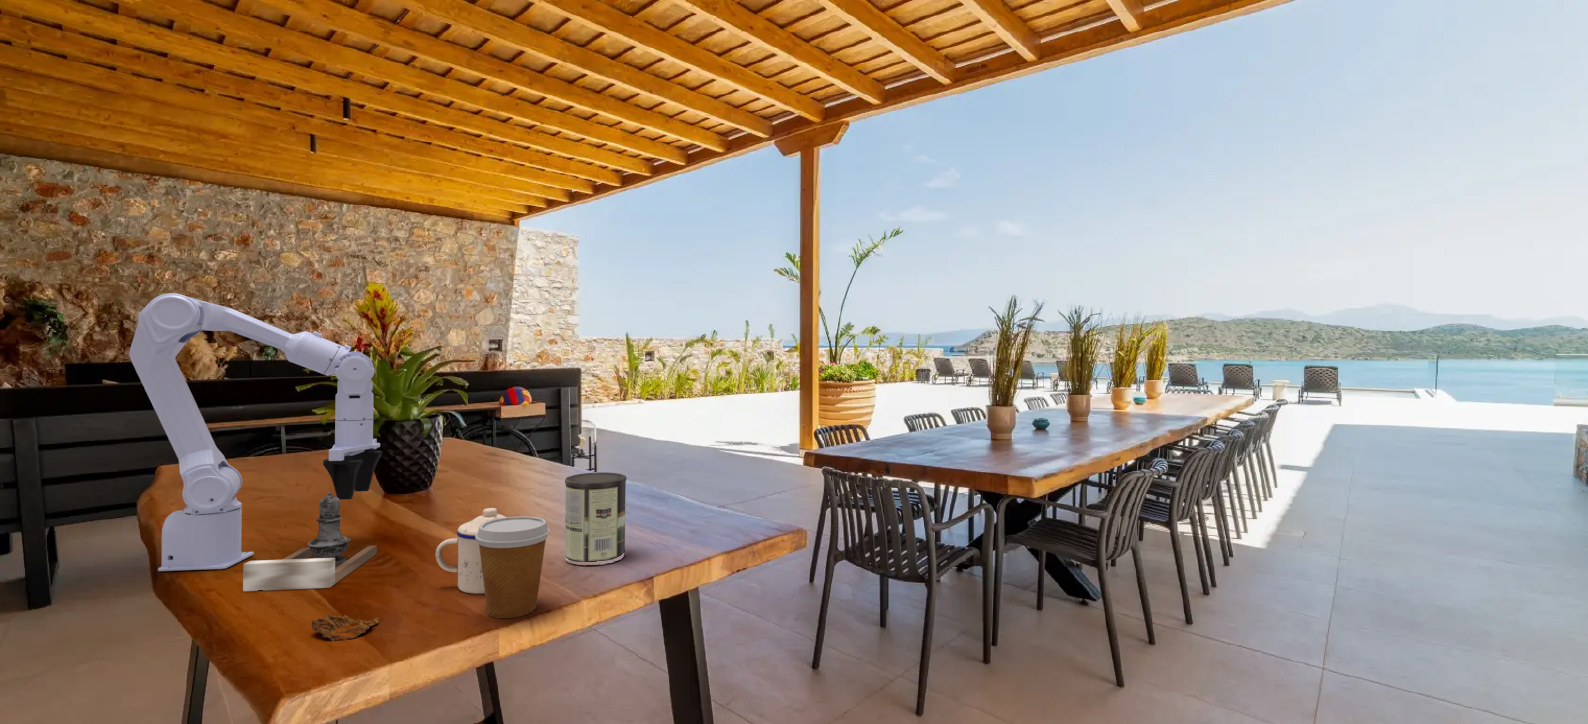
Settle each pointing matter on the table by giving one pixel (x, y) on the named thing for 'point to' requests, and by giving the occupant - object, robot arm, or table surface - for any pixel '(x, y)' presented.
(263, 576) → the guide channel
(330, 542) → the grey stone finial
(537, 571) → the disposable coffee cup
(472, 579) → the teacup with lid
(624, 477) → the coffee can
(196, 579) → the table surface
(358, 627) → the leaf
